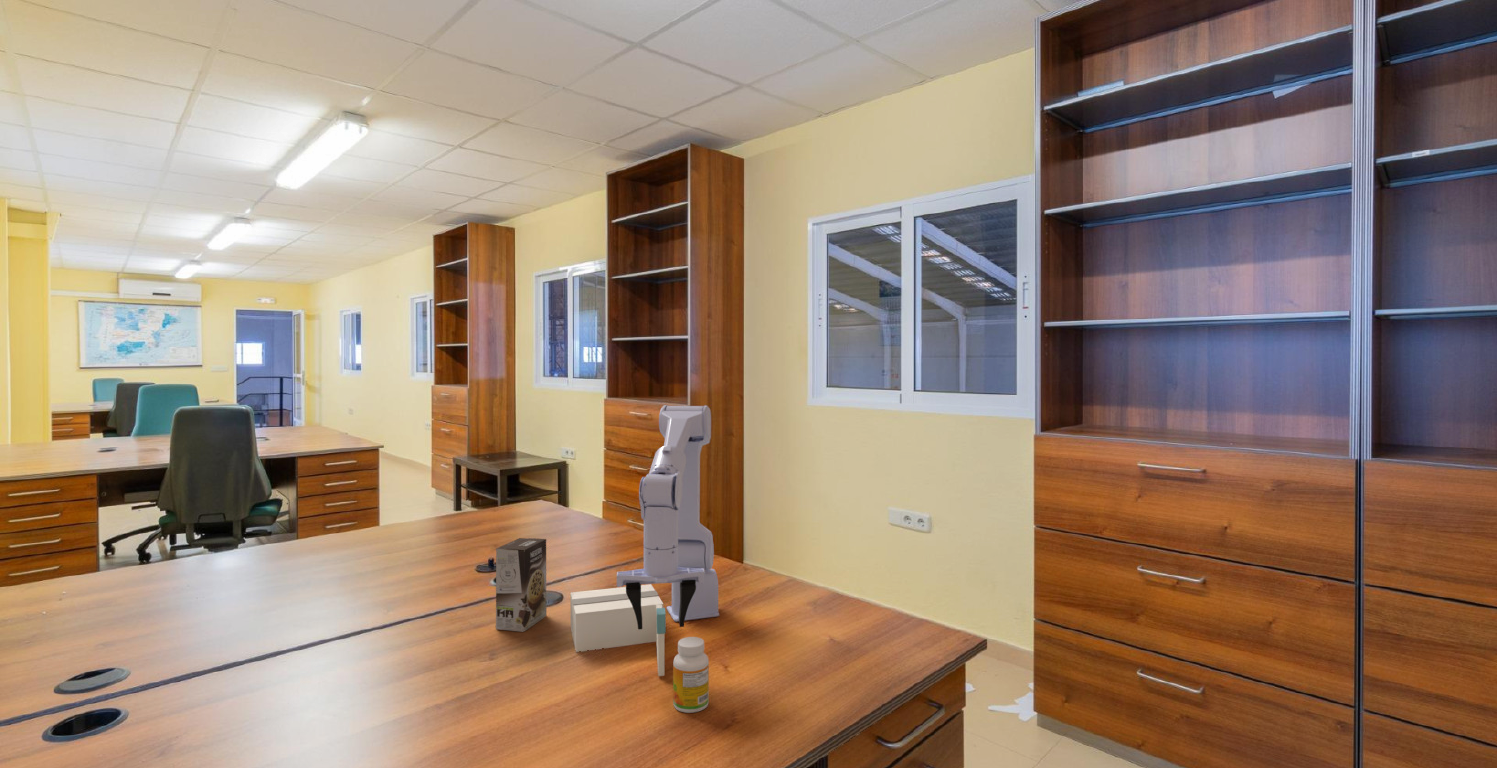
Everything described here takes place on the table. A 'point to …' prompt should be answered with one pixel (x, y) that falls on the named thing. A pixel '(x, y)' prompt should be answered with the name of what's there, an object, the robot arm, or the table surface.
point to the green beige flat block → (660, 637)
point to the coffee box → (520, 584)
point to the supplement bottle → (690, 676)
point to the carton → (612, 618)
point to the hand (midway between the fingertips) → (660, 626)
